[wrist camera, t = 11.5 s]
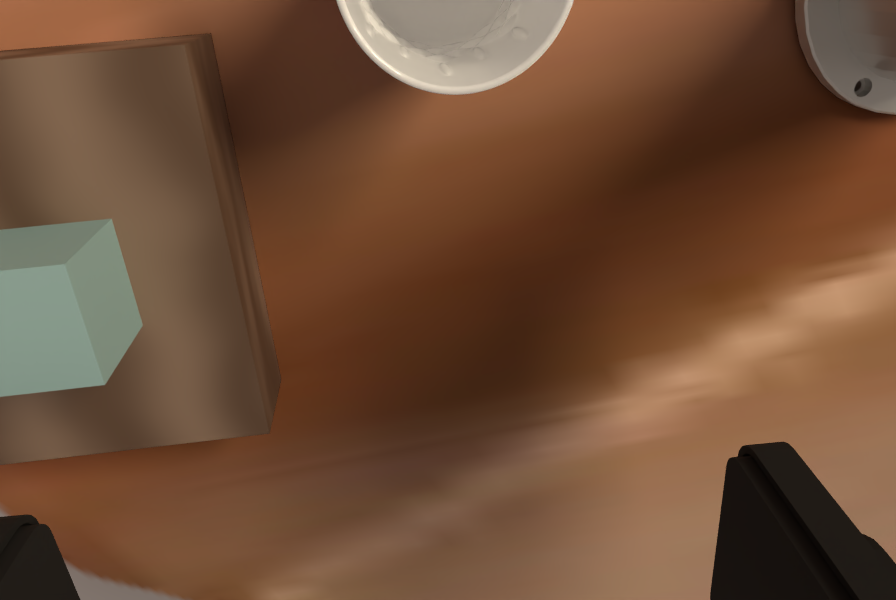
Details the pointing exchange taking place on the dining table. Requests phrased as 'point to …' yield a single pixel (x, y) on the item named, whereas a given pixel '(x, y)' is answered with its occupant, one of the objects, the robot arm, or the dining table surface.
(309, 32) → the dining table surface
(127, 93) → the walnut riser
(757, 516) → the robot arm
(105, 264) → the teal block
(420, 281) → the dining table surface
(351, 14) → the white cup
